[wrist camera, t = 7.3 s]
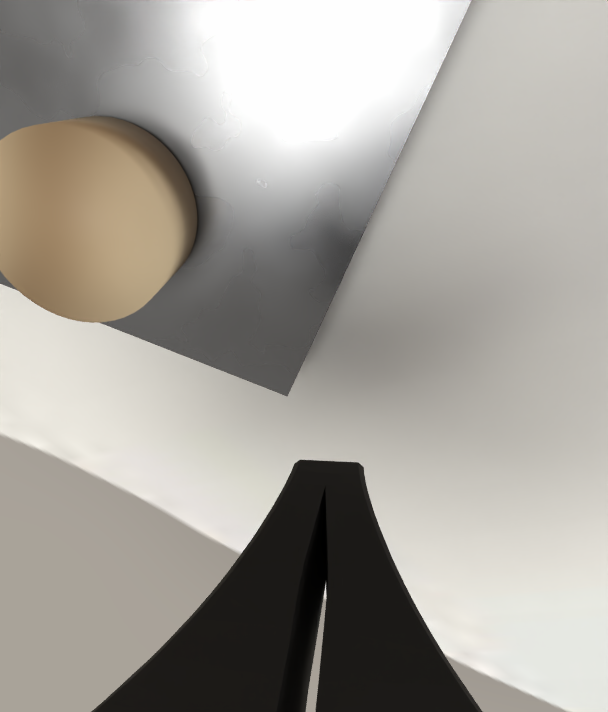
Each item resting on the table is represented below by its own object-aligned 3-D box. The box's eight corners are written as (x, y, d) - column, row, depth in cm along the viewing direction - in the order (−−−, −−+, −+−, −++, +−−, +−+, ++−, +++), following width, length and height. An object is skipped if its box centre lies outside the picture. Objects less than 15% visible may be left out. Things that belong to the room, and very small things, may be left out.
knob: (218, 160, 14) (192, 176, 12) (172, 312, 17) (144, 348, 15) (42, 84, 14) (-18, 87, 12) (20, 252, 16) (-33, 280, 14)
